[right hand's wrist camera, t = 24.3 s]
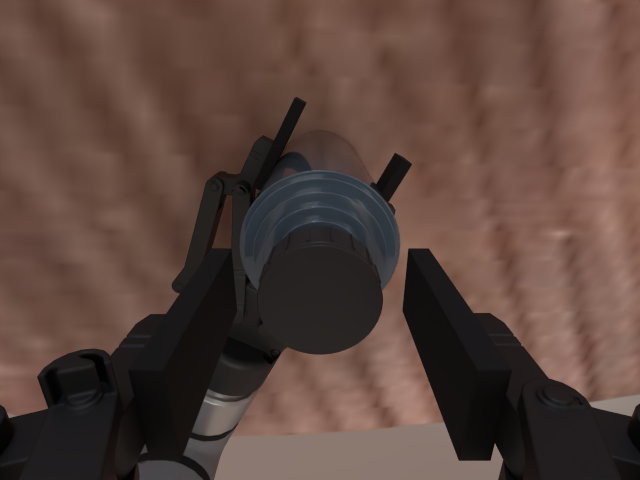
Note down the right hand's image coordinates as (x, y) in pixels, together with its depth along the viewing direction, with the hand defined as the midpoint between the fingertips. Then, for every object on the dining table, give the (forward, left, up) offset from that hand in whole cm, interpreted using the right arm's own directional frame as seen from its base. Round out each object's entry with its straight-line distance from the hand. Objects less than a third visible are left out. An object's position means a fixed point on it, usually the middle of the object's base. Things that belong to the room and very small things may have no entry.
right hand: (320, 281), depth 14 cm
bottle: (0, 0, -20) cm, 20 cm away
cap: (0, 0, +1) cm, 1 cm away
